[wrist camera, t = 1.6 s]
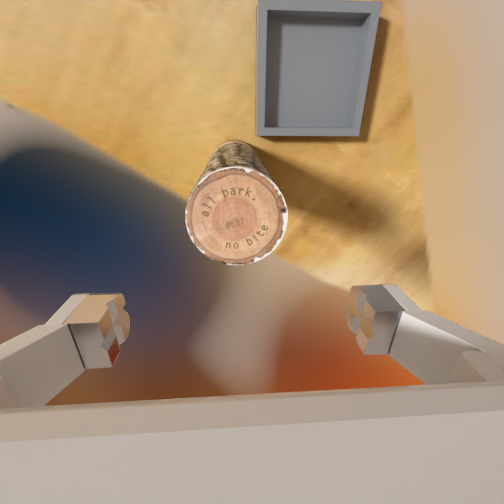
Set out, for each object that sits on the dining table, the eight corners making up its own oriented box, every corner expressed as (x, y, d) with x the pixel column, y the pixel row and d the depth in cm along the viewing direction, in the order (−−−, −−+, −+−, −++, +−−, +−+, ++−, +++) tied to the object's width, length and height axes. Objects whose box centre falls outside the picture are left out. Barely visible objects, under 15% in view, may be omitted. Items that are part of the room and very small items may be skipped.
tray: (256, 7, 32) (258, -3, 30) (369, 11, 33) (381, 1, 30) (255, 134, 38) (256, 135, 36) (350, 134, 39) (358, 136, 37)
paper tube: (205, 145, 39) (169, 183, 16) (251, 133, 38) (277, 154, 16) (219, 191, 42) (203, 274, 19) (261, 180, 41) (295, 252, 19)
